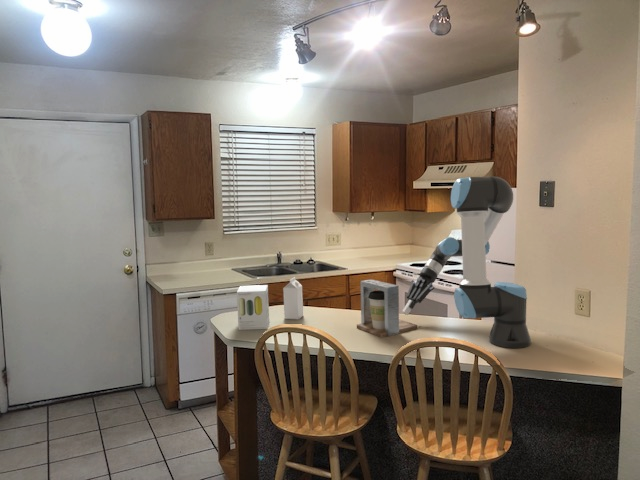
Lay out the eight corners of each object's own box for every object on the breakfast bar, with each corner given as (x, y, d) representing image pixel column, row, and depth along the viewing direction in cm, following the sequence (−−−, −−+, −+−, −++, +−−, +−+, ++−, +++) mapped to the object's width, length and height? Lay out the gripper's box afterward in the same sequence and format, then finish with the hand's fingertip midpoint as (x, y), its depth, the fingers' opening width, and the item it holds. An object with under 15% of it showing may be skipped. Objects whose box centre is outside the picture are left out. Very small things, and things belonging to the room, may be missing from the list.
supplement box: (237, 330, 225) (235, 291, 223) (241, 322, 238) (239, 285, 236) (267, 329, 226) (266, 290, 224) (269, 320, 239) (268, 284, 237)
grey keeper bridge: (399, 333, 214) (398, 285, 211) (388, 336, 210) (387, 287, 208) (371, 324, 229) (371, 279, 226) (361, 326, 225) (360, 281, 223)
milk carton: (284, 319, 241) (282, 279, 239) (289, 315, 248) (288, 276, 245) (298, 319, 239) (297, 280, 237) (303, 315, 246) (302, 277, 243)
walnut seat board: (417, 328, 220) (417, 325, 220) (381, 337, 209) (381, 333, 209) (391, 319, 234) (391, 316, 234) (356, 327, 223) (356, 324, 223)
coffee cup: (366, 329, 216) (365, 294, 214) (371, 323, 225) (371, 289, 223) (389, 331, 212) (388, 296, 210) (393, 324, 221) (393, 290, 220)
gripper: (445, 278, 230) (419, 321, 223) (424, 274, 241) (399, 315, 234) (437, 268, 227) (410, 311, 219) (416, 264, 237) (390, 305, 230)
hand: (404, 313), depth 227 cm, fingers closed
